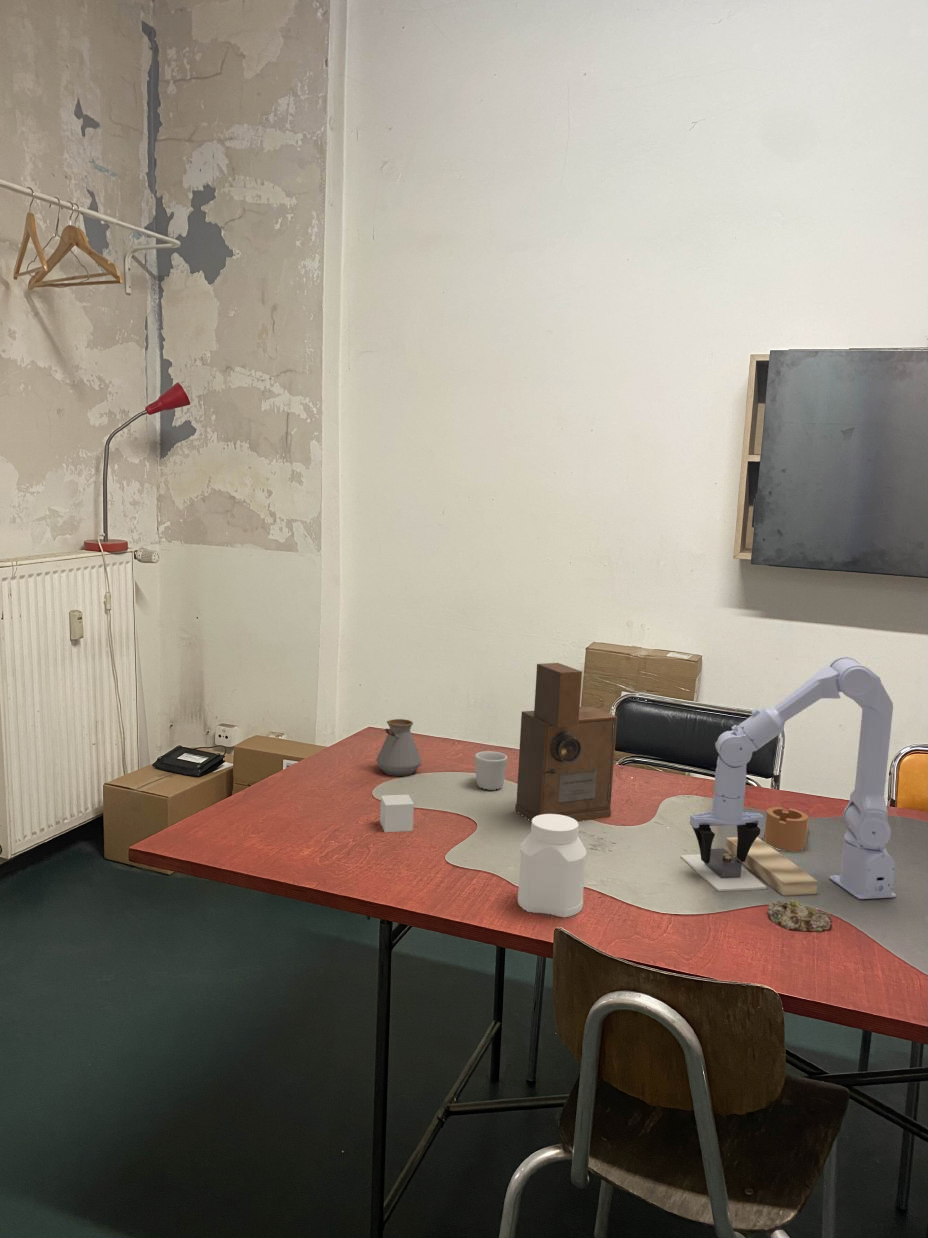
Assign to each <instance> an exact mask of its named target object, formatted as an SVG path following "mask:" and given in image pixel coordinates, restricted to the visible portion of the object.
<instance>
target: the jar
mask: <svg viewBox="0 0 928 1238" xmlns="http://www.w3.org/2000/svg"><path fill="white" fill-rule="evenodd" d="M530 823H531V822H530ZM579 826H580V824H579V821H578V822H577V821H576V820H575V819H573V818H571V817H568V816H564V815H558V814H542V815H538V816H535V817H534V818H533V819H532V823H531V826H530V827H531V828H530V832H529V834H528V835H527V836H526V838H525V839H524V840H523V841H522V843H521V844H520V863H519V879H518V880H519V881H518V890H517V903H518V905H519V907H522V908H521V909H522V910H524V911H525V910H526V912H528V913H531V912H532V914H533V913H534V914H544V915H550V914H551V915H550V916H554V915H555V916H554V917H559V918H570V917H572V916H576V915H577V914H579V913H580V912H581V911H582V909H583V908H584V886H585V873H586V872H585V871H586V870H585V869H586V860H587V849H586V848H585V845H584V844H583V842H582V841H581V839H580V837H579Z"/></svg>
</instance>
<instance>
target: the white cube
mask: <svg viewBox="0 0 928 1238" xmlns="http://www.w3.org/2000/svg"><path fill="white" fill-rule="evenodd" d="M414 810H415V803H414V801H413V800H412V799H411V796H410V795H409V794H392V795H391V794H387V795H380V816H379V823H380V824H381V827H382V829H383V831H384V833H395V832H413V830H414V814H415V813H414Z"/></svg>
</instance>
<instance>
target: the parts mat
mask: <svg viewBox="0 0 928 1238" xmlns="http://www.w3.org/2000/svg"><path fill="white" fill-rule="evenodd" d="M679 857H680V858H681V859H682V860H683V861H684V862H685V861H686V862H687V863H688V864H689V865H688V864H687V863H686V862H685V863H686V864H687V865H688V866H690V868H692V869H693V870H694V871H695V872H696V873H697V874H698V875H699V876H700V877H701V878H702V879H703V880H705V881H706V882H707V883H708V884H709V885H710V886H711V887H712V888H714V889H715V890H716V891H717V892H733V891H734V892H736V891H751V890H752V891H755V890H767V889H768V886H766V885H765V884H764V883H763V882H761V881H760V879H758V878H757V877H756V876H754V875H753V874H752V873H751V872H749V871H748V870H747V869H745V867H743V866H742V867H741V878H722V879H721V878H720V877H719V876H718V875H717V874H716V873H715V872H713V871H712V870H711V869H710V868H709V867H708V866H707V865H705V864H704V862H703V861H702V860H701V854H700V853H699V854H680V856H679Z"/></svg>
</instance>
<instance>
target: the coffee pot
mask: <svg viewBox="0 0 928 1238" xmlns="http://www.w3.org/2000/svg"><path fill="white" fill-rule="evenodd" d="M386 723H387V726H388V727H389V728H385V729H383V730H382V731H381V736H382V737H384V738H385V739H384V742H383V745H382V747H381V749H380V751H379V753H378V755H377V756H376V760H375V761H376V764H377V765H378V767H379V769H381V770H382V771H383V773H385V774H386V775H390V776H395V777H397V776H398V777H399V776H401V777H402V776H403V777H404V776H410V775H412V774H413V773H414V772H415V771H416V770H417V769H419V768H420V766H421V764H422V758H421V755H420V753H419V749H418V747H417V745H416V742H415V740H414V737H413V734H412V732H411V729H412V726H413V725H414V722H413V721H412V720H409V719H403V718H398V719H397V718H396V719H389V720H387V721H386ZM384 731H385V733H387V736H386V737H385V735H383V732H384Z"/></svg>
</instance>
